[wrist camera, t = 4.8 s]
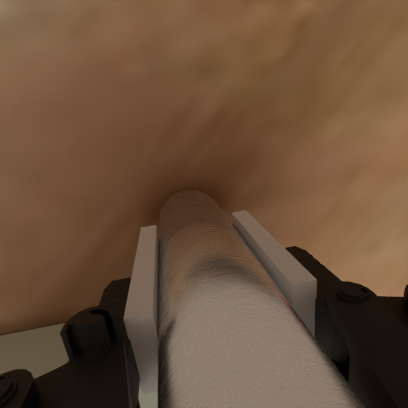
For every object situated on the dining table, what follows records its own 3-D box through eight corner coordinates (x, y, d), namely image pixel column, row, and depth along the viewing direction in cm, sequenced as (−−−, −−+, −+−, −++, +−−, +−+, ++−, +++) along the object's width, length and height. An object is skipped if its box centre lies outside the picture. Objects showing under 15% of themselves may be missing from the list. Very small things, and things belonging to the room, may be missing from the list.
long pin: (164, 252, 17) (178, 649, 4) (154, 194, 16) (128, 497, 3) (222, 241, 18) (401, 570, 5) (217, 185, 17) (435, 410, 3)
